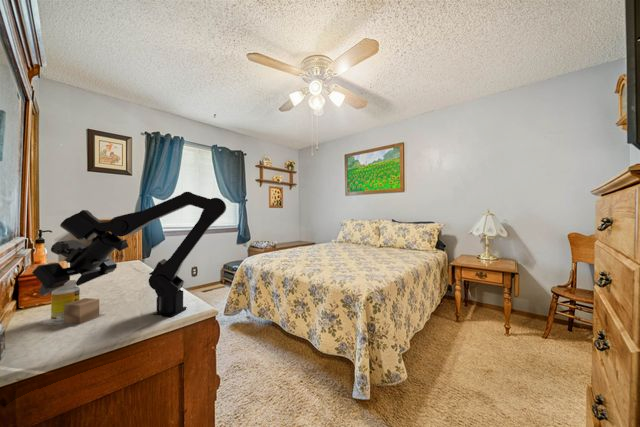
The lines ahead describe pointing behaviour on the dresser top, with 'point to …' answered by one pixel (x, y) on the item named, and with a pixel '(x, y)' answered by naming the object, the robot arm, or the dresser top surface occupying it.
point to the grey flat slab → (61, 323)
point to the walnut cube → (81, 311)
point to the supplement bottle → (63, 299)
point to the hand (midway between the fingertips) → (60, 289)
